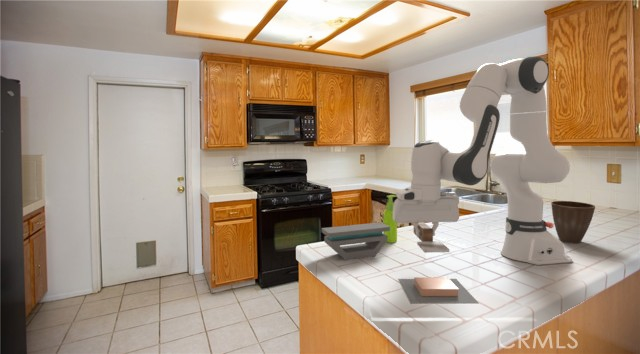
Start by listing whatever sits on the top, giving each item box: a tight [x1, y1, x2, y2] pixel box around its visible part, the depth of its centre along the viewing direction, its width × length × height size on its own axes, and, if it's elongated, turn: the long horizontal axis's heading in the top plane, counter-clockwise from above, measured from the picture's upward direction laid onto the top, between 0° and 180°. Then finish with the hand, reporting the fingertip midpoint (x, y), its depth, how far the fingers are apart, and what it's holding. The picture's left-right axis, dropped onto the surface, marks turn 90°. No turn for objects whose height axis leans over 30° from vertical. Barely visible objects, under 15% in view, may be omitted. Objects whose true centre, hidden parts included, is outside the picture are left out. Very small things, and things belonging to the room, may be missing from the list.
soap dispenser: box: [382, 194, 398, 244], centre depth 147 cm, size 6×7×20 cm
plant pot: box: [551, 200, 596, 244], centre depth 144 cm, size 15×15×16 cm
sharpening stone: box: [321, 221, 390, 261], centre depth 129 cm, size 25×8×11 cm, turn 109°
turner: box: [413, 222, 450, 253], centre depth 106 cm, size 21×7×4 cm, turn 179°
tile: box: [413, 276, 458, 296], centre depth 97 cm, size 10×2×8 cm
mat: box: [397, 278, 479, 305], centre depth 97 cm, size 18×16×1 cm
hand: (425, 235), depth 107 cm, fingers closed on turner, 3 cm apart
